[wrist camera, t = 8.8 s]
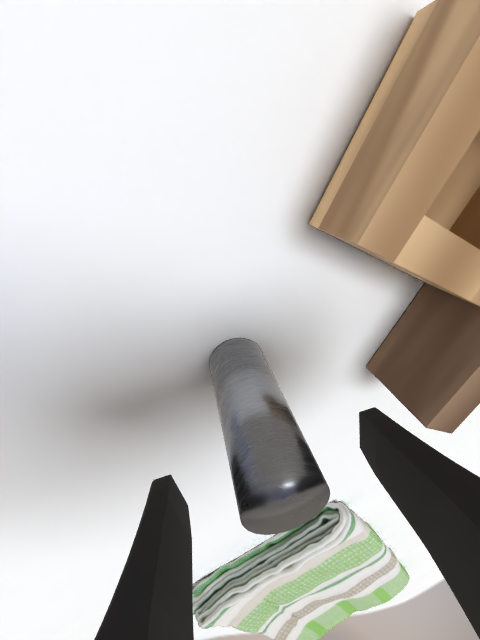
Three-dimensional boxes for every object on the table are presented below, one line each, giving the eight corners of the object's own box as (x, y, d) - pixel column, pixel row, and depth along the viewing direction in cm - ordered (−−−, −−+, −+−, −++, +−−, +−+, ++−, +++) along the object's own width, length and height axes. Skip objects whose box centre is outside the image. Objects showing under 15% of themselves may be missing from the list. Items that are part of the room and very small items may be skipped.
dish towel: (338, 488, 25) (361, 532, 22) (406, 562, 37) (428, 599, 34) (181, 582, 27) (183, 634, 24) (292, 625, 38) (303, 665, 35)
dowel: (201, 376, 16) (225, 533, 9) (222, 331, 15) (267, 471, 8) (248, 387, 17) (301, 535, 10) (271, 346, 16) (347, 480, 9)
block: (308, 224, 13) (357, 244, 10) (417, 11, 11) (538, -65, 7) (424, 282, 16) (494, 313, 13) (533, 127, 13) (660, 113, 10)
